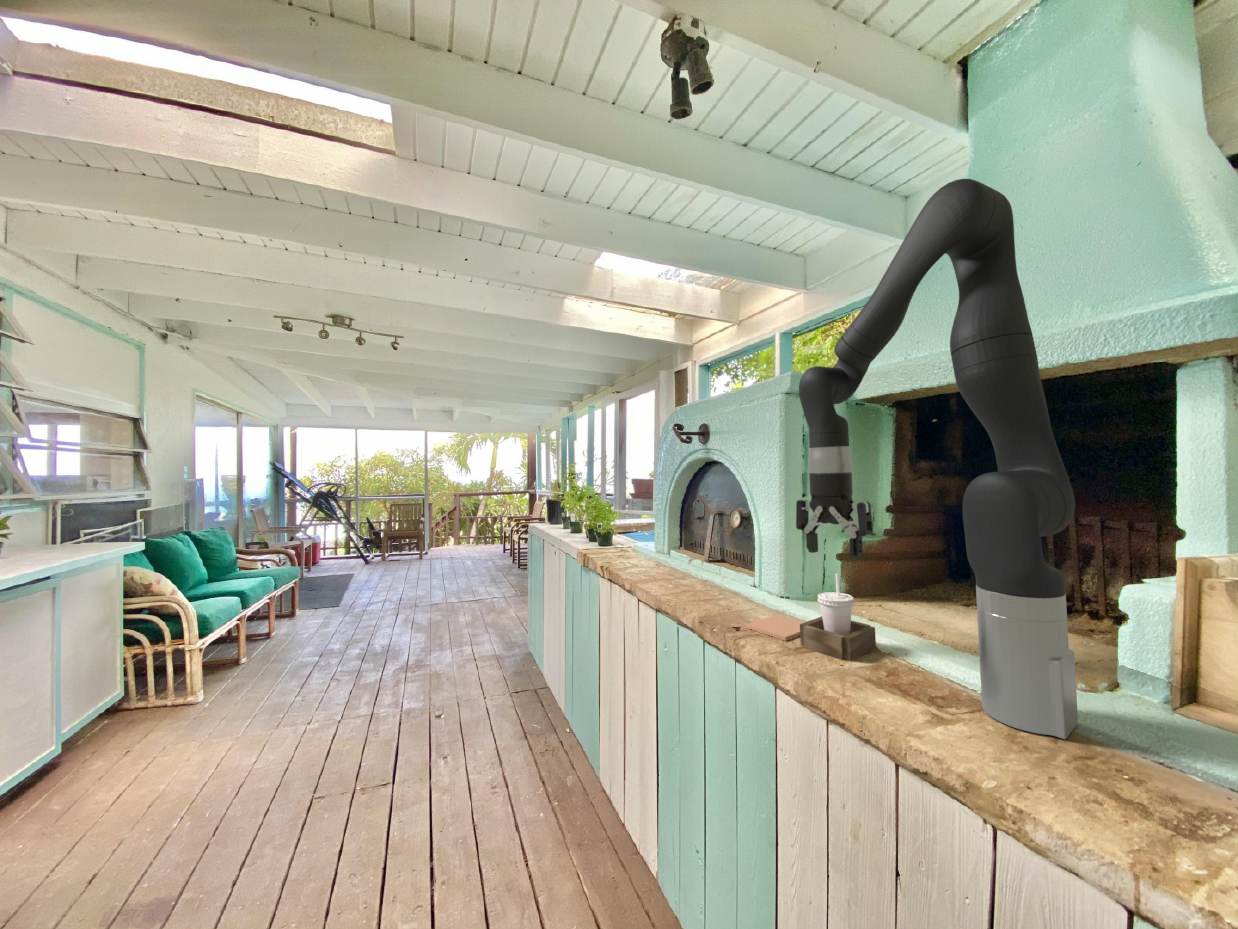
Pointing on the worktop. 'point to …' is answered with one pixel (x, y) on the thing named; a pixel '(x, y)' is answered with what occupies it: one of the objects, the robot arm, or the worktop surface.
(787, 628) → the terracotta tile
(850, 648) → the wooden storage tray
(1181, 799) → the worktop surface
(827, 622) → the smoothie
